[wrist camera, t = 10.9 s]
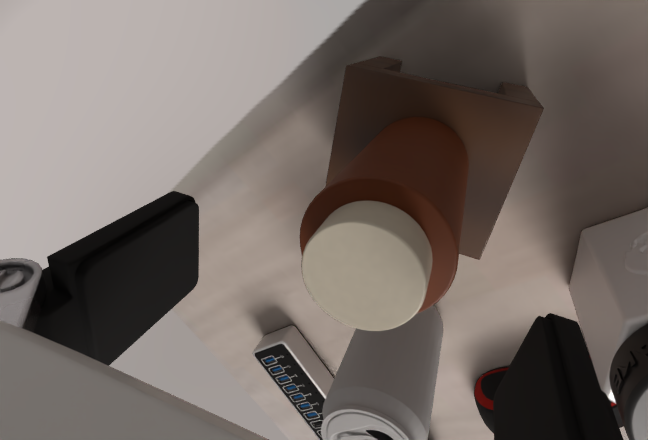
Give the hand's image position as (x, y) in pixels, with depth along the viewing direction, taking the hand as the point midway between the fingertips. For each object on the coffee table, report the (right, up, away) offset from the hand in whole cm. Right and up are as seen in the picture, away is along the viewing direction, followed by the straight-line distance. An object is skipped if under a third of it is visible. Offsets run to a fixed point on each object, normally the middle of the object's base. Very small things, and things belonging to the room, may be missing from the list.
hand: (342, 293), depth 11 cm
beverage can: (+6, -6, +22) cm, 24 cm away
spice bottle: (+4, +5, +9) cm, 11 cm away
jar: (+20, -1, +14) cm, 24 cm away
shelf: (+7, +8, +15) cm, 18 cm away
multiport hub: (-1, -14, +29) cm, 32 cm away
